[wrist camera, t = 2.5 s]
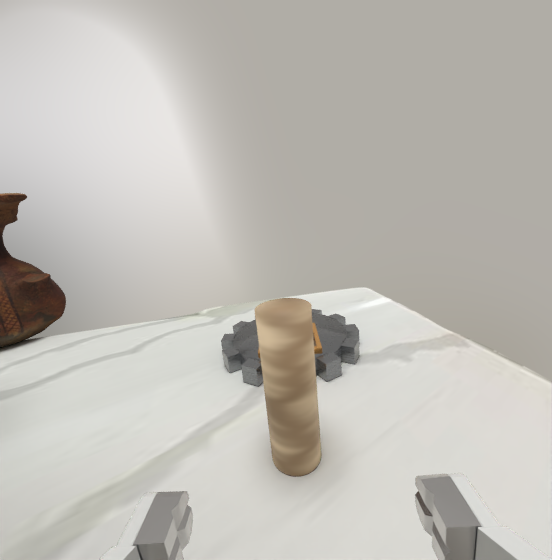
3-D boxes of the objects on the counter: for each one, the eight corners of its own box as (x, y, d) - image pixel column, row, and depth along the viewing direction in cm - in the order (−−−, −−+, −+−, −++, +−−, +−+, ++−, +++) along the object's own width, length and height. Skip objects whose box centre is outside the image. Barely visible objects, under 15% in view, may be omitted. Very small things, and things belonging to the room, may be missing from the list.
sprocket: (207, 394, 34) (202, 371, 33) (236, 325, 54) (233, 309, 54) (381, 382, 33) (381, 358, 32) (342, 316, 54) (341, 301, 53)
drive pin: (271, 477, 22) (251, 320, 19) (273, 435, 26) (257, 300, 23) (324, 474, 22) (314, 315, 19) (317, 432, 26) (308, 296, 23)
